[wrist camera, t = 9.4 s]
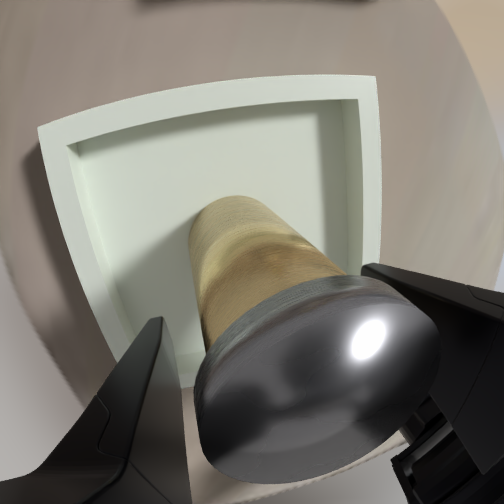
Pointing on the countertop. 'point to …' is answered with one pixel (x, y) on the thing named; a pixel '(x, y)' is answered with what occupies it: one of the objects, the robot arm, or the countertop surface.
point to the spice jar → (297, 350)
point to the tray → (209, 187)
